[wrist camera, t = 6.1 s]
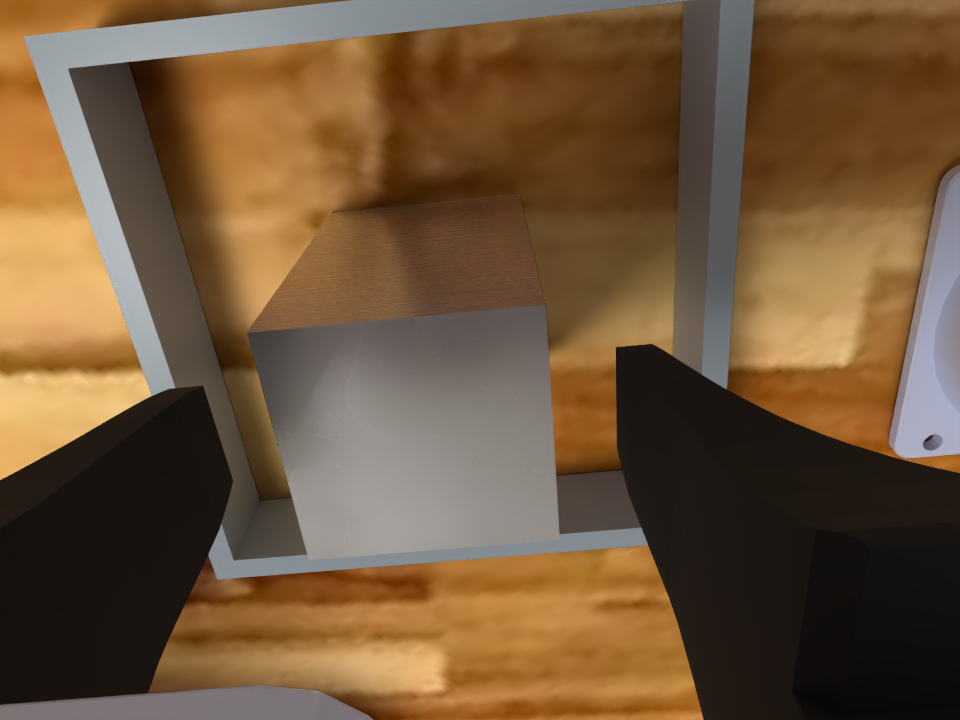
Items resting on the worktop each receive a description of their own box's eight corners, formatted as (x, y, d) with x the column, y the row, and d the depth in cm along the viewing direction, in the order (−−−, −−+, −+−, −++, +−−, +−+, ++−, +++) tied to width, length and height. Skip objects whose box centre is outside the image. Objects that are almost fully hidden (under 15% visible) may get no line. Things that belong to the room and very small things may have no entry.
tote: (713, -37, 14) (757, -45, 12) (689, 481, 20) (716, 539, 18) (91, 32, 15) (23, 36, 13) (245, 518, 21) (217, 579, 19)
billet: (518, 193, 17) (545, 305, 10) (530, 361, 19) (560, 539, 12) (331, 212, 17) (246, 332, 10) (364, 376, 19) (308, 560, 12)
